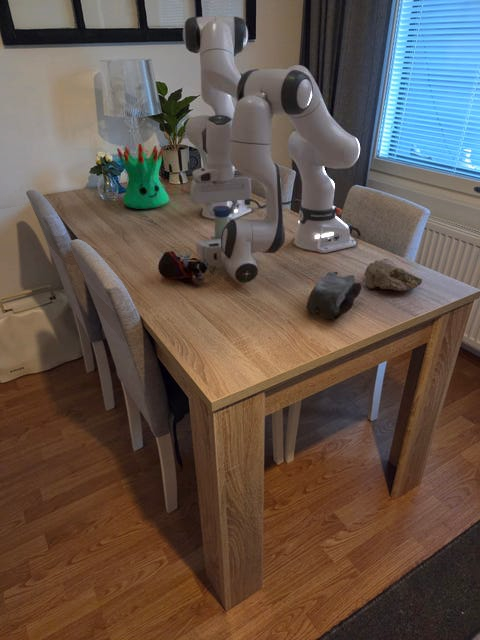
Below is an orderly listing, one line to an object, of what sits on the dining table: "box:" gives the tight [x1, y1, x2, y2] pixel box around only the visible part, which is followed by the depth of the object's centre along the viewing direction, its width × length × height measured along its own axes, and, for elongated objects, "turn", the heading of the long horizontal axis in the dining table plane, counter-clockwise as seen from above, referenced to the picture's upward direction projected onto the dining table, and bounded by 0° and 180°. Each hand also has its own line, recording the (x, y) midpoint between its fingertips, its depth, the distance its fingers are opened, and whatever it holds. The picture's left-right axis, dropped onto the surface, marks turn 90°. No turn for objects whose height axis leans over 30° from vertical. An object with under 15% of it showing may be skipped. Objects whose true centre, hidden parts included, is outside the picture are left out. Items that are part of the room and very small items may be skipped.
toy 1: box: [116, 142, 170, 210], centre depth 197 cm, size 20×20×25 cm
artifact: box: [364, 258, 423, 292], centre depth 135 cm, size 18×7×15 cm
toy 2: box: [157, 250, 209, 286], centre depth 136 cm, size 12×9×15 cm
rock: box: [305, 271, 362, 321], centre depth 121 cm, size 18×11×8 cm, turn 152°
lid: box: [213, 206, 230, 217], centre depth 148 cm, size 6×6×2 cm
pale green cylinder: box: [214, 216, 230, 239], centre depth 151 cm, size 5×5×16 cm
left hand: (221, 214), depth 148 cm, fingers closed on lid, 5 cm apart
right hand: (221, 237), depth 153 cm, fingers closed on pale green cylinder, 5 cm apart
